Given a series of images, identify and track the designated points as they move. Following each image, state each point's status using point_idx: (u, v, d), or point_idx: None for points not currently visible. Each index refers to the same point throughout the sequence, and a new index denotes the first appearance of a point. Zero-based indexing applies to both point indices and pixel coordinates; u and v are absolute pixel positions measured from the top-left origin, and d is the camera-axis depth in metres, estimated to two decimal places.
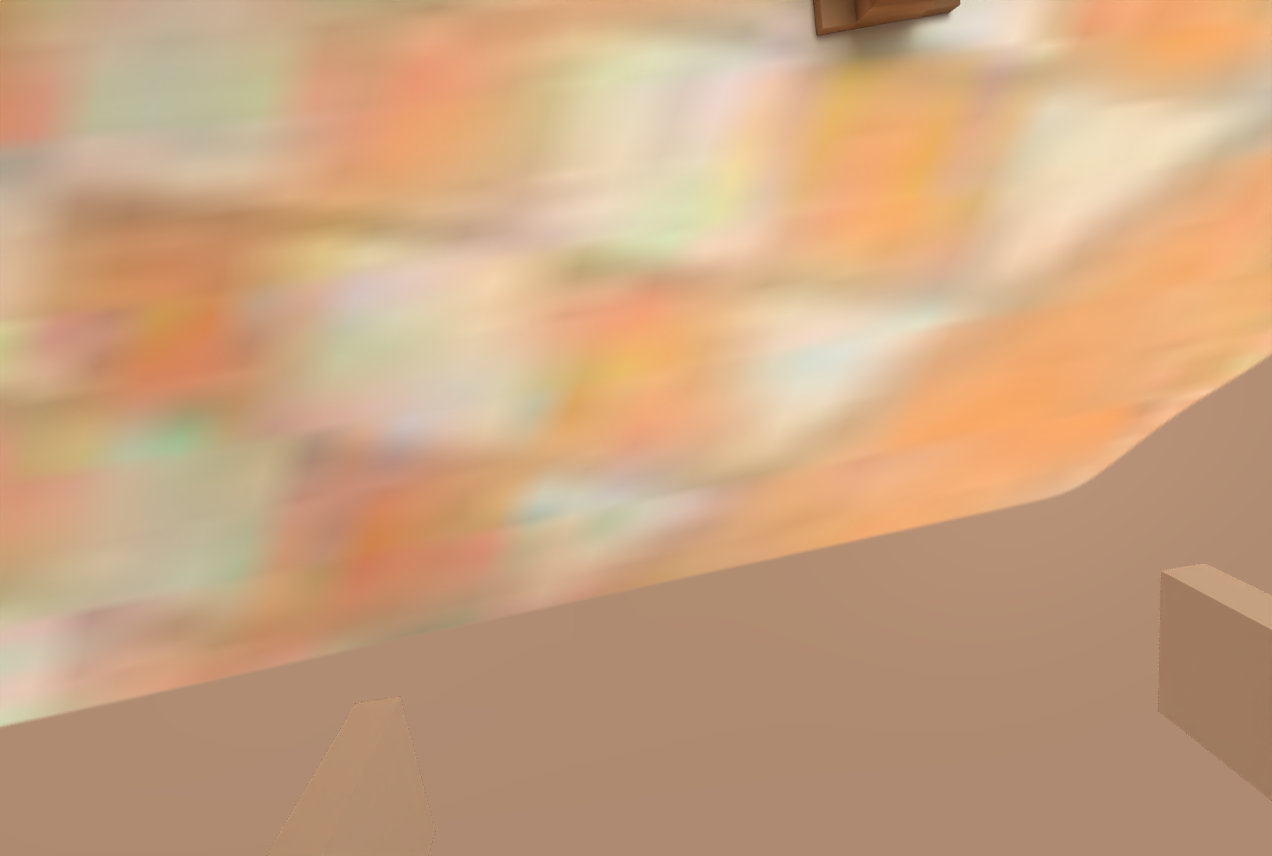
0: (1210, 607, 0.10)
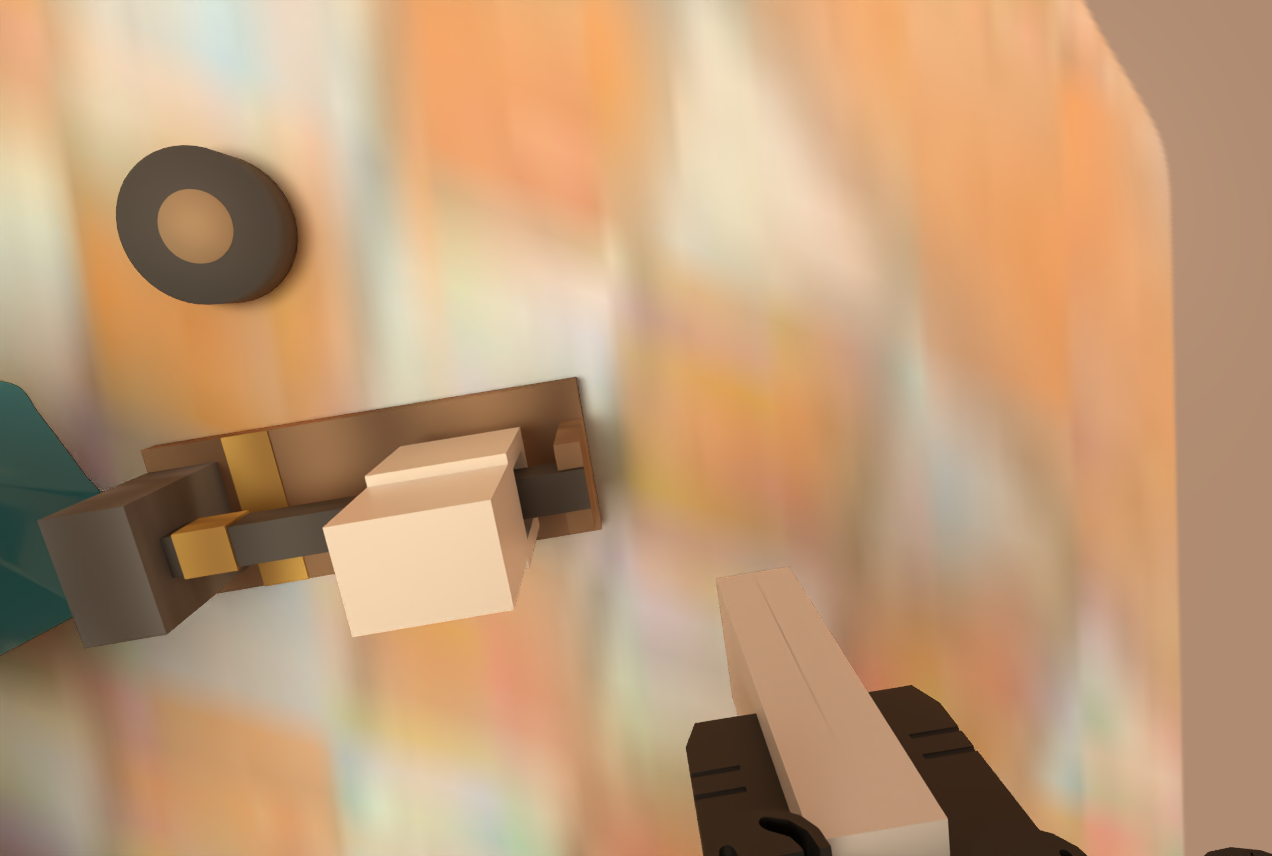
0: (763, 602, 0.13)
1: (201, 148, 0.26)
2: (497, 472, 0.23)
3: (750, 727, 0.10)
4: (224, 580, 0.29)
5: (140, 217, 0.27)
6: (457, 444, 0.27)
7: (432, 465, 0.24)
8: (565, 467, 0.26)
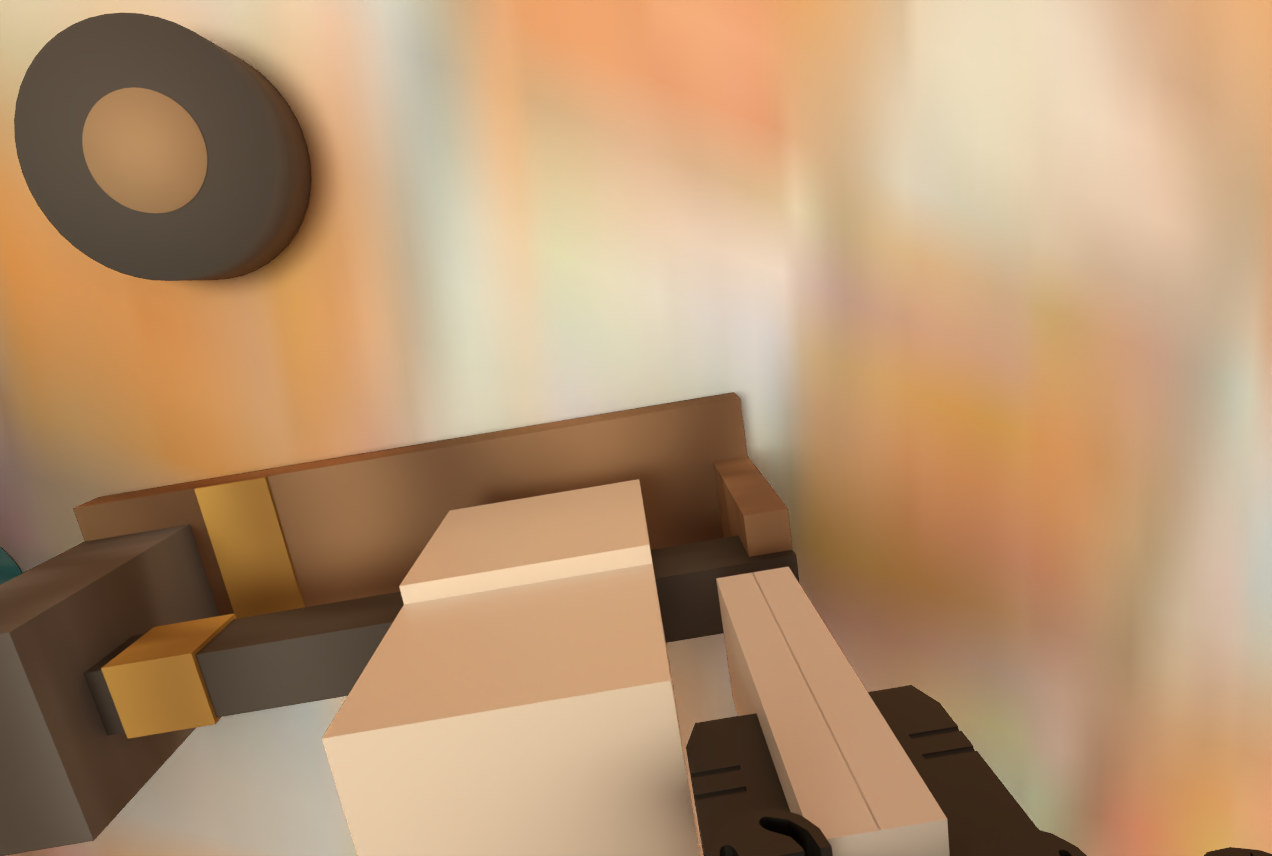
0: (763, 602, 0.13)
1: (151, 18, 0.16)
2: (642, 584, 0.13)
3: (750, 727, 0.10)
4: None
5: (54, 136, 0.16)
6: (547, 513, 0.16)
7: (519, 566, 0.13)
8: (761, 551, 0.15)
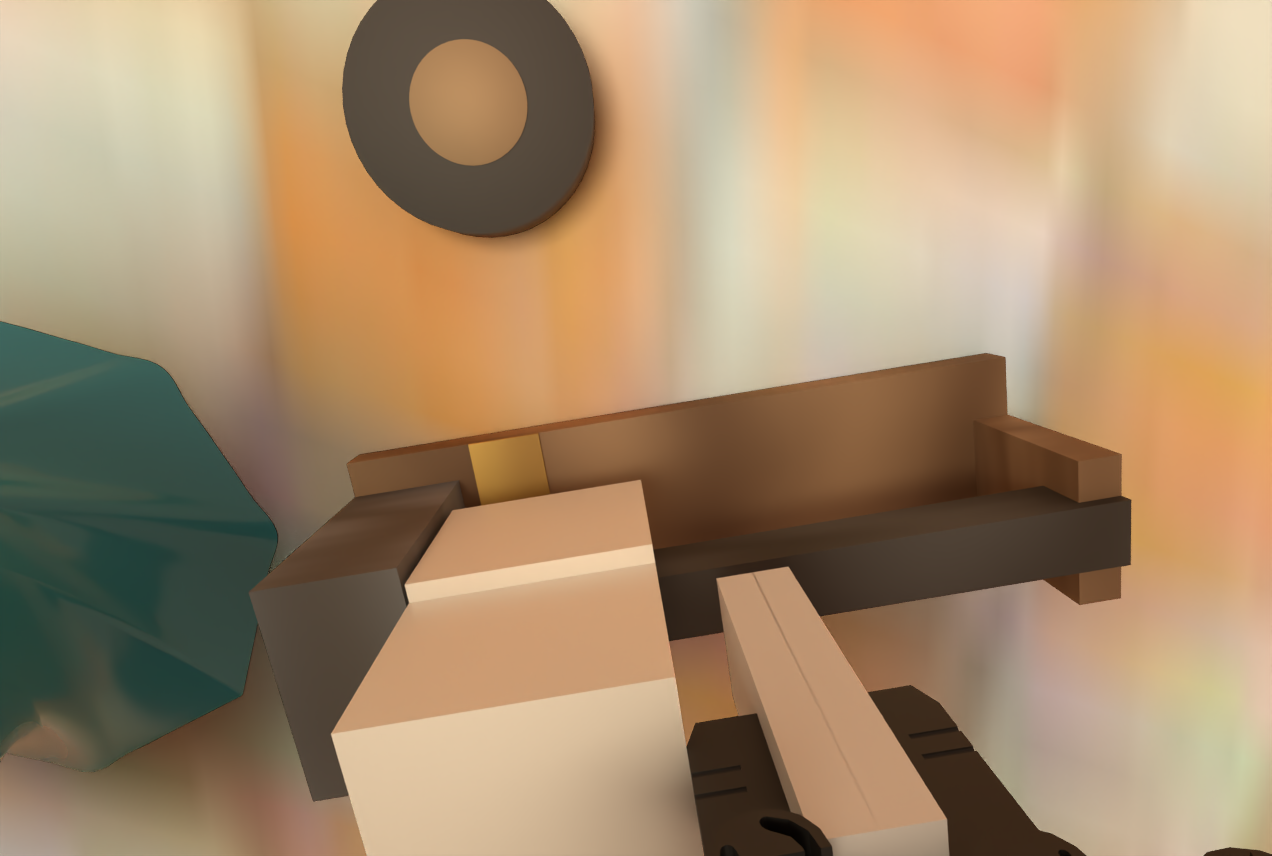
0: (763, 602, 0.13)
1: None
2: (646, 583, 0.13)
3: (751, 727, 0.10)
4: None
5: (381, 87, 0.16)
6: (549, 513, 0.16)
7: (523, 565, 0.14)
8: (1091, 497, 0.16)
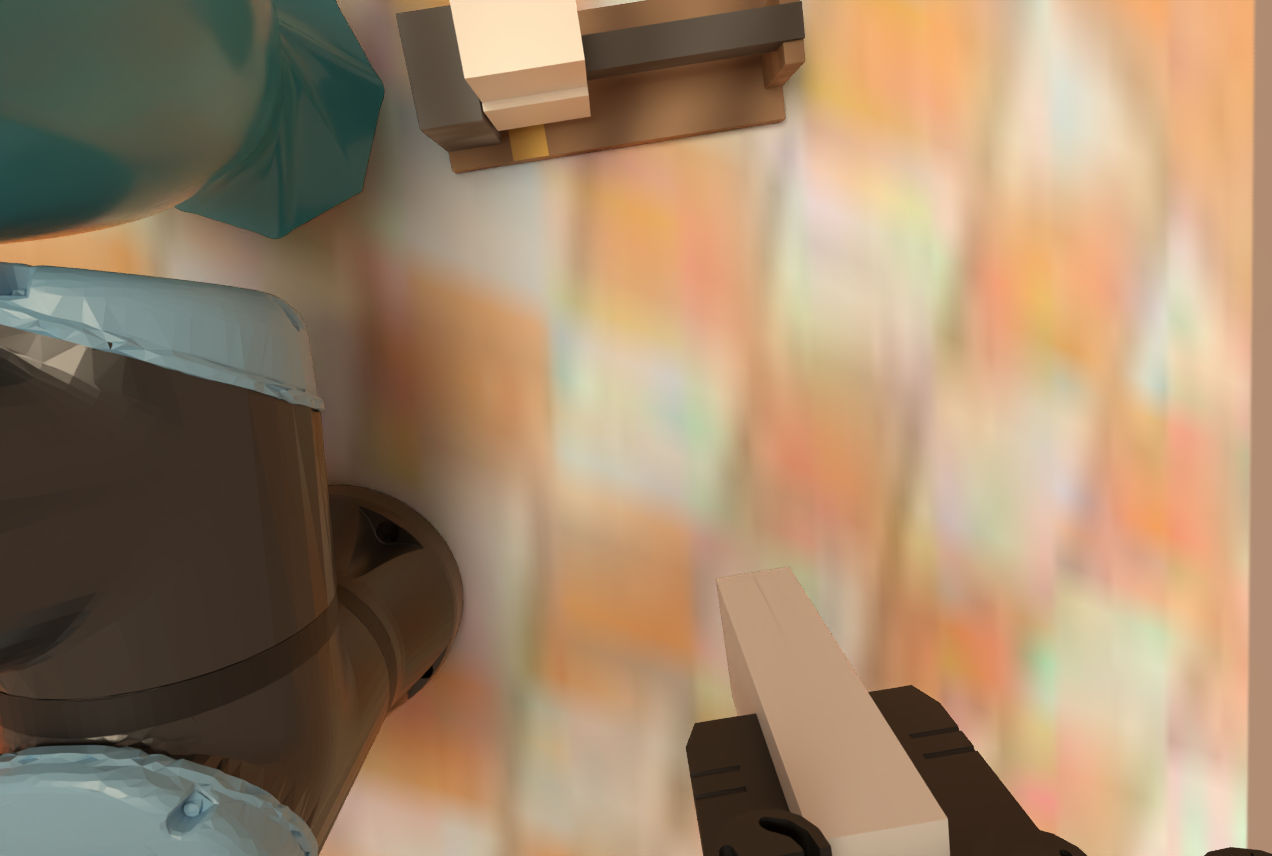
0: (763, 603, 0.13)
1: None
2: None
3: (750, 727, 0.10)
4: (495, 132, 0.36)
5: None
6: None
7: None
8: (785, 4, 0.33)
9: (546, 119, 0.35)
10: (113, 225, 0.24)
